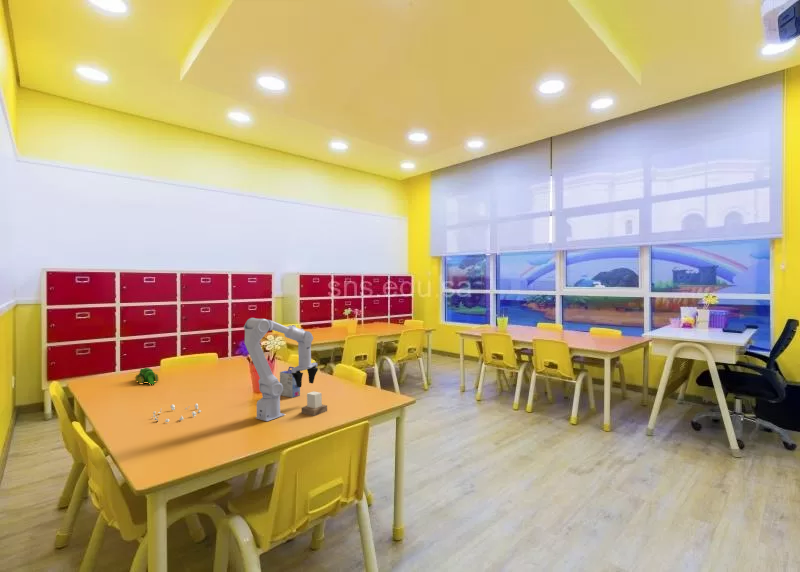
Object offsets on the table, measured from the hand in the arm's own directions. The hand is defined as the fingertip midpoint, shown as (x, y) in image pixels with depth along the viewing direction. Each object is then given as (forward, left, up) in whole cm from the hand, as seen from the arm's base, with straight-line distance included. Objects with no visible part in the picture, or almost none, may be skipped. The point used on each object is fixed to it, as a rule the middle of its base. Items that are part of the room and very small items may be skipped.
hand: (305, 385), depth 186 cm
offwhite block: (-4, -10, -7) cm, 13 cm away
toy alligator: (-17, +121, -10) cm, 123 cm away
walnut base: (-4, -10, -10) cm, 15 cm away
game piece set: (-39, +40, -10) cm, 57 cm away
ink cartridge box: (+8, +20, -10) cm, 24 cm away
